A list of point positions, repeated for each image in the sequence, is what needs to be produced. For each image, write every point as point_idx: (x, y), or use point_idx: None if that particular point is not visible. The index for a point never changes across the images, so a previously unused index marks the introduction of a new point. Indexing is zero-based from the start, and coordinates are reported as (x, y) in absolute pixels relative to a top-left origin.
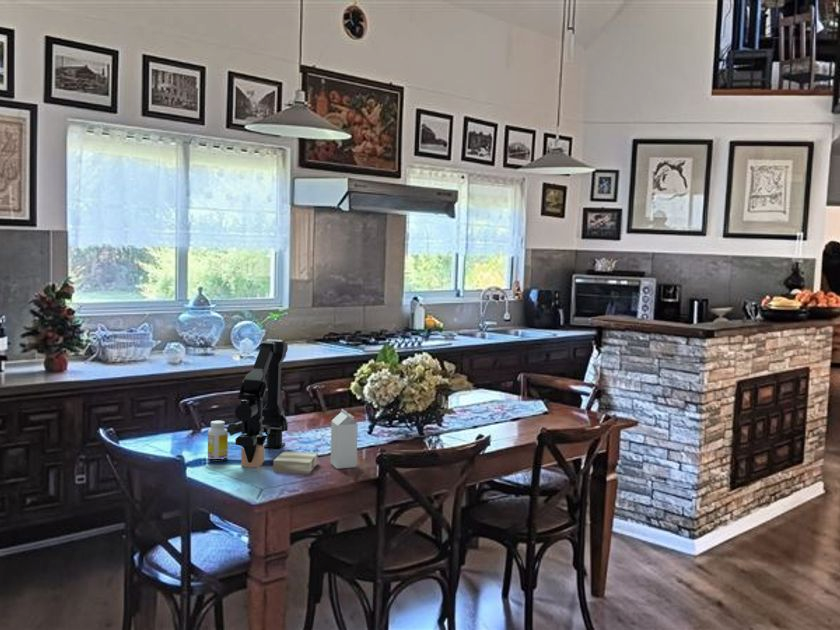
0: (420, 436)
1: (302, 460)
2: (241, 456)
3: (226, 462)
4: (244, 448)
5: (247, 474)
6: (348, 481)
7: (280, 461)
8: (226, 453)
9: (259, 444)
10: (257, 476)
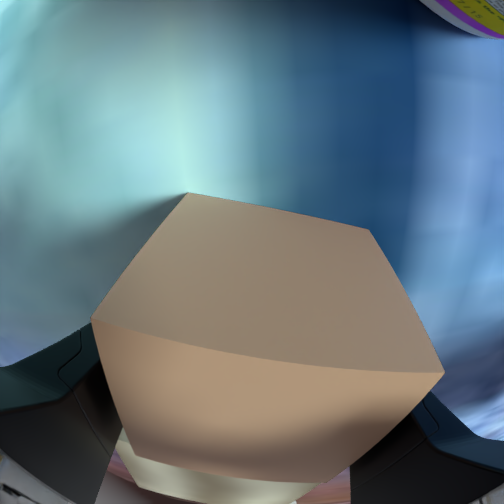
0: None
1: (164, 488)
2: (150, 239)
3: (324, 16)
4: (11, 372)
5: (25, 269)
6: (124, 477)
7: (117, 450)
8: (472, 12)
9: (365, 464)
10: (26, 318)
